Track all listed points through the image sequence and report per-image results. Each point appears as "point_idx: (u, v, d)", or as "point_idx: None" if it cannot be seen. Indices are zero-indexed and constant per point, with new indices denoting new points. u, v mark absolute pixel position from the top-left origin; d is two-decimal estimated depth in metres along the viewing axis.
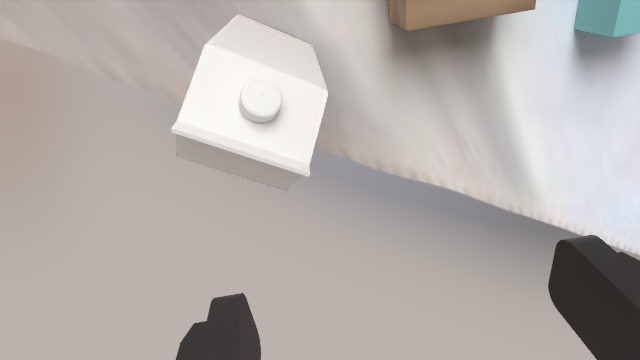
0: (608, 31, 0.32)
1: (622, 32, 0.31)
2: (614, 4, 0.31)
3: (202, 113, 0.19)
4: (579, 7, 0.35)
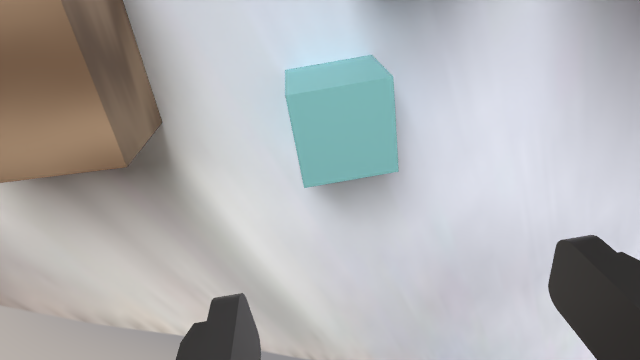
0: None
1: (316, 180, 0.20)
2: None
3: None
4: None
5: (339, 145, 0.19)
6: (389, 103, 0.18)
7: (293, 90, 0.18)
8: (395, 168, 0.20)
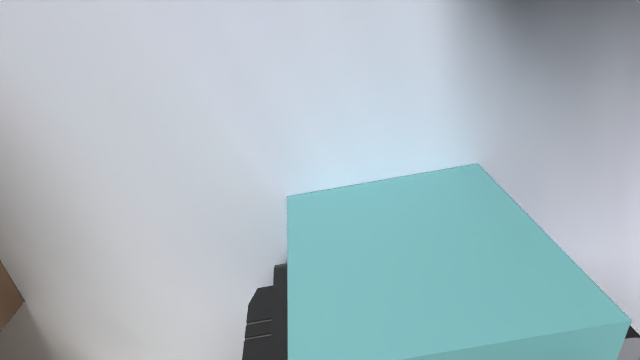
0: None
1: None
2: None
3: None
4: None
5: None
6: None
7: (311, 338, 0.06)
8: None
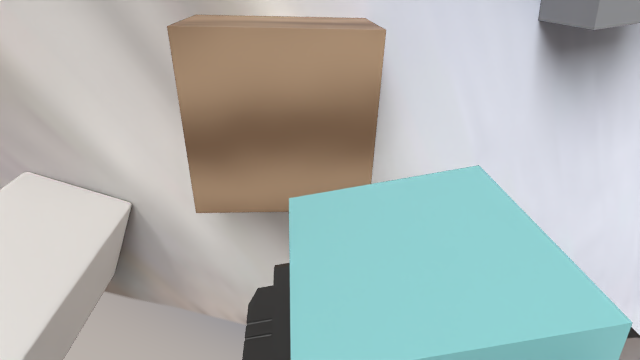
0: None
1: None
2: None
3: None
4: None
5: None
6: None
7: (313, 341, 0.06)
8: None
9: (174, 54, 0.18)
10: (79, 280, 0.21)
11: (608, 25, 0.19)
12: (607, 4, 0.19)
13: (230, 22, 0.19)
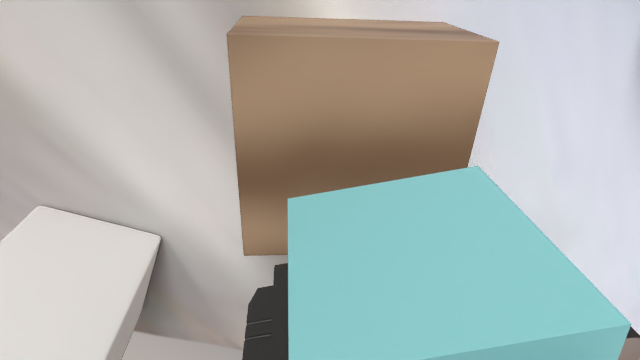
0: None
1: None
2: None
3: None
4: None
5: None
6: None
7: (311, 342, 0.06)
8: None
9: (233, 70, 0.14)
10: (112, 344, 0.17)
11: None
12: None
13: (297, 28, 0.15)
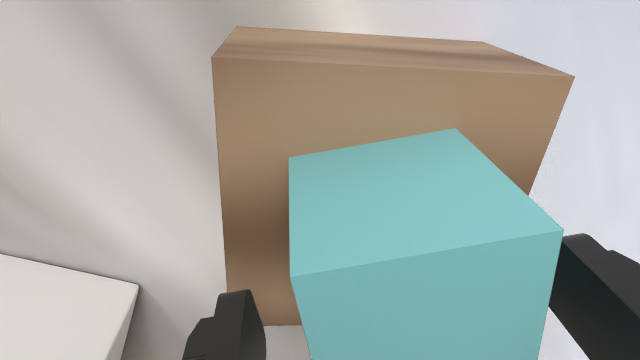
0: None
1: None
2: None
3: None
4: None
5: (412, 358, 0.08)
6: (540, 281, 0.07)
7: (308, 252, 0.07)
8: None
9: (219, 103, 0.10)
10: None
11: None
12: None
13: (306, 48, 0.12)
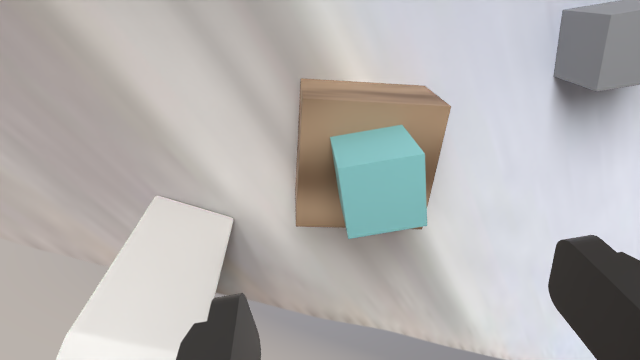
0: (346, 228, 0.24)
1: (359, 233, 0.24)
2: (342, 200, 0.23)
3: None
4: (336, 178, 0.27)
5: (379, 205, 0.23)
6: (421, 173, 0.22)
7: (343, 163, 0.22)
8: (424, 223, 0.24)
9: (303, 116, 0.25)
10: (219, 277, 0.28)
11: (606, 88, 0.26)
12: (606, 74, 0.26)
13: (337, 92, 0.27)
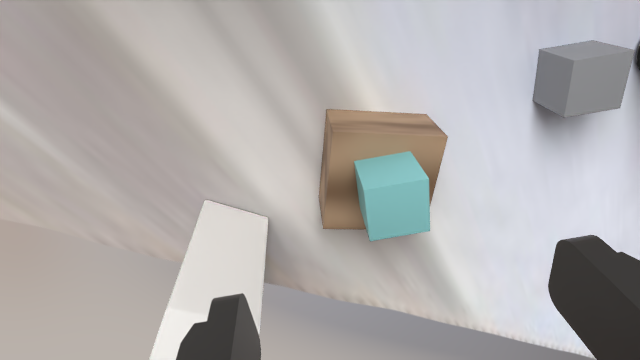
0: (368, 233, 0.32)
1: (378, 236, 0.31)
2: (365, 212, 0.30)
3: None
4: (358, 192, 0.34)
5: (394, 216, 0.30)
6: (426, 192, 0.29)
7: (367, 185, 0.29)
8: (428, 229, 0.31)
9: (333, 145, 0.32)
10: (264, 267, 0.35)
11: (572, 115, 0.33)
12: (571, 104, 0.33)
13: (358, 124, 0.34)
